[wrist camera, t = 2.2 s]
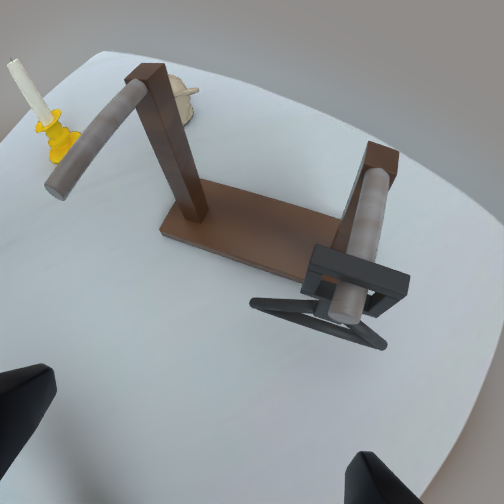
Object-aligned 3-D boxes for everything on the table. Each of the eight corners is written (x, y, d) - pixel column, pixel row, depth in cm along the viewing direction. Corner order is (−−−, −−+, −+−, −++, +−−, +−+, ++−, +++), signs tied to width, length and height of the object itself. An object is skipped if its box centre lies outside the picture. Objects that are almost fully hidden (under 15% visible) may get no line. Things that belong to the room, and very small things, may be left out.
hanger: (247, 308, 20) (227, 236, 11) (252, 297, 20) (236, 217, 11) (383, 353, 18) (471, 317, 9) (386, 341, 18) (474, 297, 9)
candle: (66, 132, 34) (16, 47, 20) (90, 135, 33) (38, 39, 19) (44, 161, 32) (-16, 77, 18) (66, 166, 31) (2, 71, 17)
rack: (337, 363, 21) (447, 319, 7) (135, 286, 24) (18, 175, 10) (372, 236, 25) (445, 95, 11) (192, 181, 28) (145, 40, 14)
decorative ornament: (173, 94, 35) (163, 61, 30) (211, 121, 32) (203, 83, 27) (146, 110, 34) (134, 78, 29) (181, 140, 31) (169, 102, 26)
